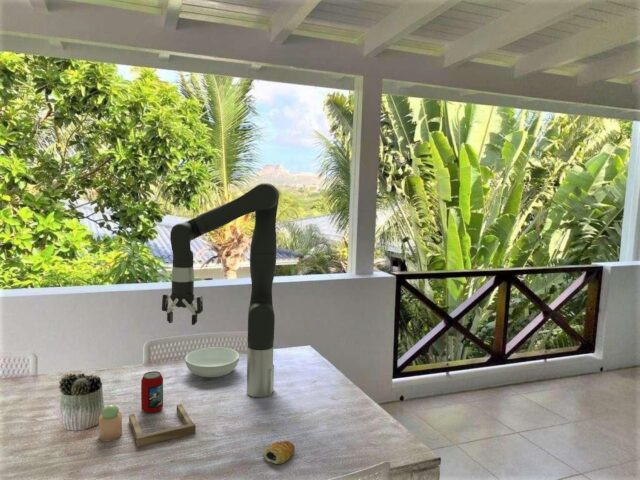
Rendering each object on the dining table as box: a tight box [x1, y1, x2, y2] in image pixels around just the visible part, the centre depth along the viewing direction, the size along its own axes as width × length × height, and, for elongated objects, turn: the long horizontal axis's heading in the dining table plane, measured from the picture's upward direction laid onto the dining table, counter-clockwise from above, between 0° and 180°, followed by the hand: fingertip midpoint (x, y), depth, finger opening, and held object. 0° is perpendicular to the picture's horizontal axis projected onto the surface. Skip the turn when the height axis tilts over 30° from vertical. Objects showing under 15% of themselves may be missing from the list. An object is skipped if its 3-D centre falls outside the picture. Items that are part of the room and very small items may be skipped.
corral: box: [128, 403, 196, 448], centre depth 142 cm, size 16×16×2 cm
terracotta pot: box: [98, 404, 123, 442], centre depth 136 cm, size 6×6×9 cm
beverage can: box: [140, 370, 164, 414], centre depth 153 cm, size 7×7×12 cm
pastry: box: [262, 440, 295, 465], centre depth 130 cm, size 9×7×4 cm
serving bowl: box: [184, 346, 240, 378], centre depth 185 cm, size 21×21×7 cm
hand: (182, 323), depth 167 cm, fingers open, 8 cm apart
